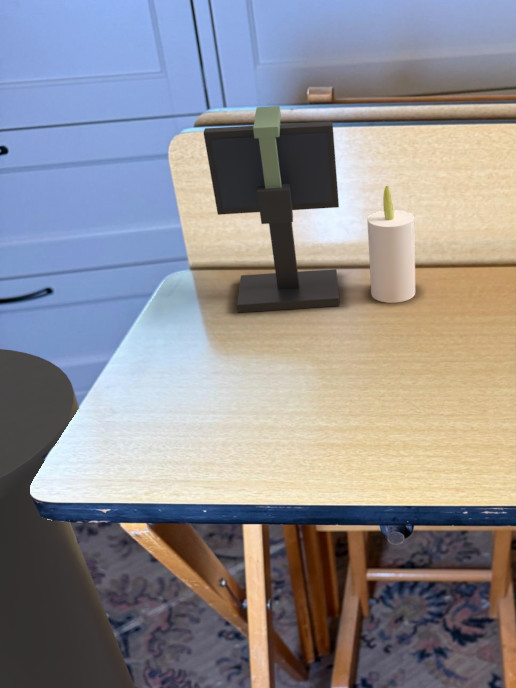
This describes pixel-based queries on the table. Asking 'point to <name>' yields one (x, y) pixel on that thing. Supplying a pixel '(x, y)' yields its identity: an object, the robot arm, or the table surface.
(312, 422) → the table surface
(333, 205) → the monitor
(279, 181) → the headphones
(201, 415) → the table surface
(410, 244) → the candle
